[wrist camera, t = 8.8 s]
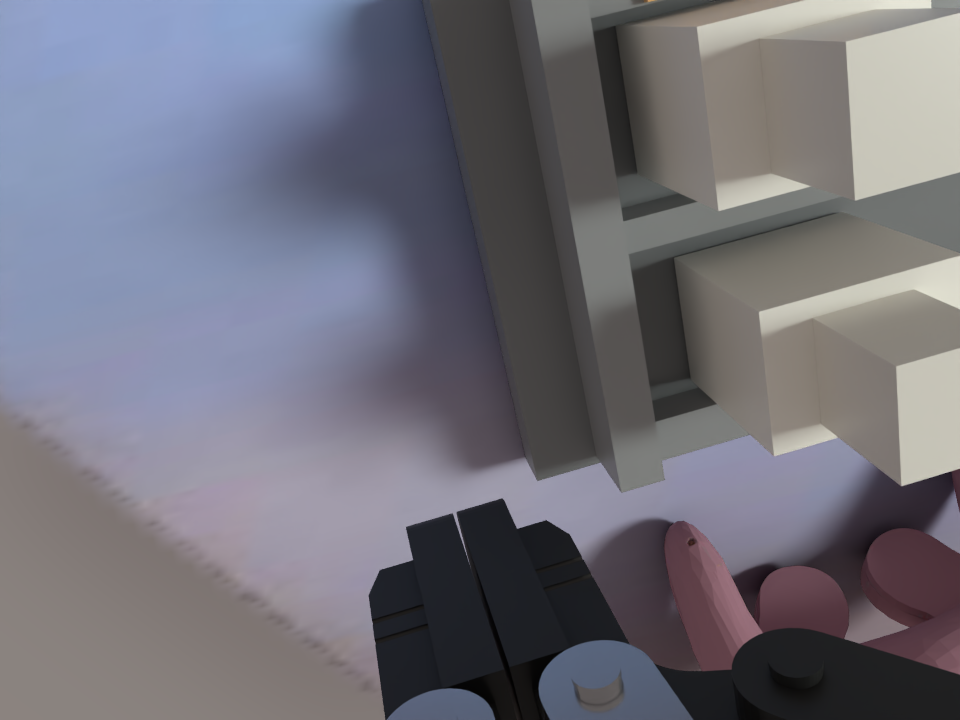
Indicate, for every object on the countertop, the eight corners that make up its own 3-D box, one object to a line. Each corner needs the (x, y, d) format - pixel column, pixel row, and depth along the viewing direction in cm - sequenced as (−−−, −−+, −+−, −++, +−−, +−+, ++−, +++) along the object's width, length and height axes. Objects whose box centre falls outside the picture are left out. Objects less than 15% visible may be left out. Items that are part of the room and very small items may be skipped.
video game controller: (647, 595, 27) (761, 848, 22) (647, 515, 23) (782, 795, 19) (954, 489, 27) (1126, 713, 23) (998, 397, 24) (1211, 639, 19)
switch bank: (1294, -221, 20) (1453, -258, 17) (1241, 251, 24) (1362, 281, 21) (419, -12, 18) (440, -18, 15) (525, 457, 22) (557, 519, 20)
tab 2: (842, 211, 20) (1070, 292, 14) (850, 334, 21) (1064, 456, 15) (674, 257, 20) (835, 360, 14) (690, 379, 21) (846, 523, 15)
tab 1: (803, -21, 18) (1048, -41, 12) (814, 128, 19) (1044, 175, 13) (615, 25, 18) (773, 27, 12) (638, 174, 19) (792, 245, 13)
